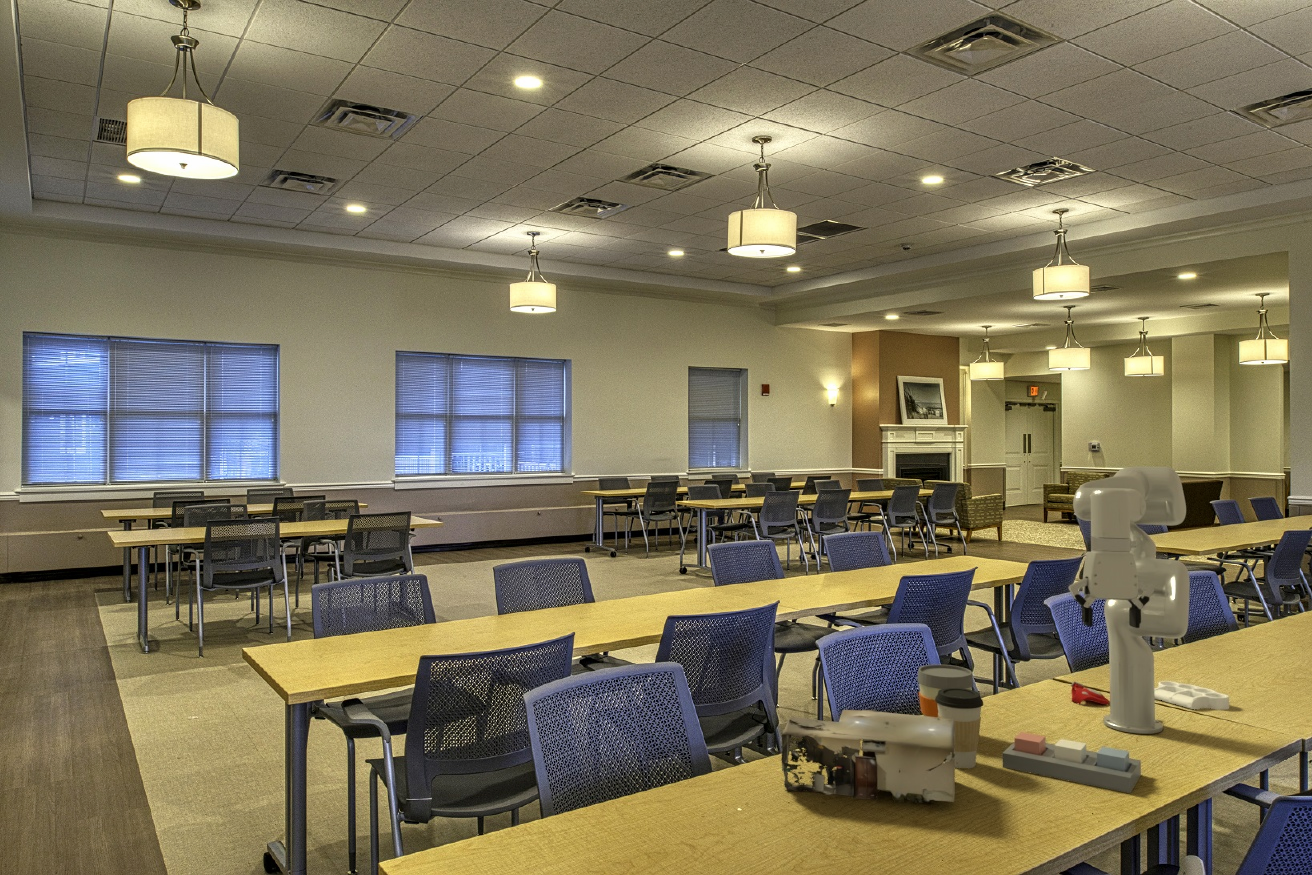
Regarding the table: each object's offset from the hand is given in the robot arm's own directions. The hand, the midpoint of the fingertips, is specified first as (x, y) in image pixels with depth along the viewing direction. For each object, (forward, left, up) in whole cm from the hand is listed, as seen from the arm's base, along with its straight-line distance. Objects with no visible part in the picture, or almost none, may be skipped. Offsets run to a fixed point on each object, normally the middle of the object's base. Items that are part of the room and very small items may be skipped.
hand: (1111, 626), depth 189 cm
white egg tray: (-61, +7, -30) cm, 68 cm away
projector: (+45, -33, -29) cm, 63 cm away
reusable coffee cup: (+3, -35, -29) cm, 46 cm away
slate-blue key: (+11, +2, -27) cm, 30 cm away
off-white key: (+11, -6, -27) cm, 30 cm away
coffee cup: (+20, -26, -29) cm, 44 cm away
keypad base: (+11, -6, -29) cm, 32 cm away
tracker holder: (-47, -15, -29) cm, 57 cm away
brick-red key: (+11, -14, -27) cm, 33 cm away
